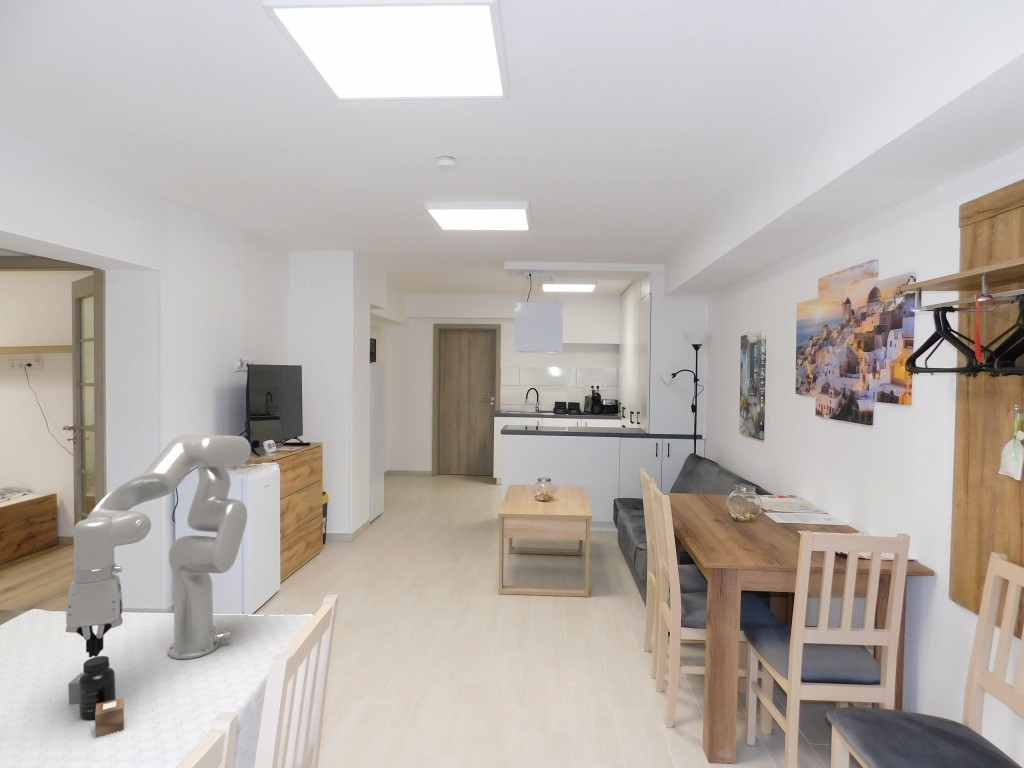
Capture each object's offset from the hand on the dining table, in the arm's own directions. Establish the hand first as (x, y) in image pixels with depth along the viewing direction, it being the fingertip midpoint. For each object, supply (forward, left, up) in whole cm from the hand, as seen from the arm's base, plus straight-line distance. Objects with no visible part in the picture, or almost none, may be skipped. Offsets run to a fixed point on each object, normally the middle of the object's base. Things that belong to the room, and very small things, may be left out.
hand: (94, 654), depth 137 cm
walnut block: (-4, +8, -14) cm, 16 cm away
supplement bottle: (0, 0, -14) cm, 14 cm away
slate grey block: (+4, -8, -14) cm, 17 cm away
